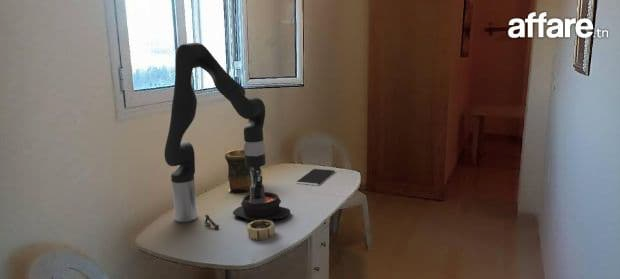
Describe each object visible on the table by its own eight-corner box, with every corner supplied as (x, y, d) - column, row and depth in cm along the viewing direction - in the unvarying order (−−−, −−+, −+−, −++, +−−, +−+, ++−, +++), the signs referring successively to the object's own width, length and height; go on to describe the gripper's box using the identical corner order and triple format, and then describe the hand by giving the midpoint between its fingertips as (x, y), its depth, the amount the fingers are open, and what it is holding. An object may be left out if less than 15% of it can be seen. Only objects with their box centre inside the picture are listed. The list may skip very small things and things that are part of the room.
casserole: (296, 210, 193) (295, 192, 191) (282, 226, 175) (281, 207, 173) (243, 206, 199) (242, 188, 198) (225, 222, 182) (224, 203, 180)
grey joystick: (248, 199, 167) (247, 184, 166) (264, 197, 168) (263, 182, 167) (251, 204, 161) (250, 189, 160) (267, 202, 163) (266, 187, 162)
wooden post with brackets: (205, 221, 181) (207, 212, 179) (217, 233, 177) (219, 224, 175) (202, 222, 180) (204, 214, 178) (213, 234, 176) (215, 226, 173)
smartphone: (294, 185, 230) (294, 182, 230) (313, 171, 254) (313, 168, 254) (318, 187, 225) (318, 184, 225) (335, 172, 249) (335, 170, 249)
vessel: (258, 185, 229) (256, 148, 224) (252, 195, 215) (249, 156, 210) (231, 185, 230) (228, 148, 225) (224, 195, 216) (220, 156, 212)
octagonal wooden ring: (246, 231, 171) (245, 221, 171) (271, 227, 174) (270, 218, 174) (250, 241, 162) (249, 231, 161) (276, 237, 165) (276, 227, 164)
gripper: (242, 149, 166) (245, 193, 170) (247, 157, 153) (250, 204, 157) (261, 147, 168) (264, 190, 172) (268, 155, 156) (271, 201, 159)
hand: (257, 197), depth 164 cm, fingers closed on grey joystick
